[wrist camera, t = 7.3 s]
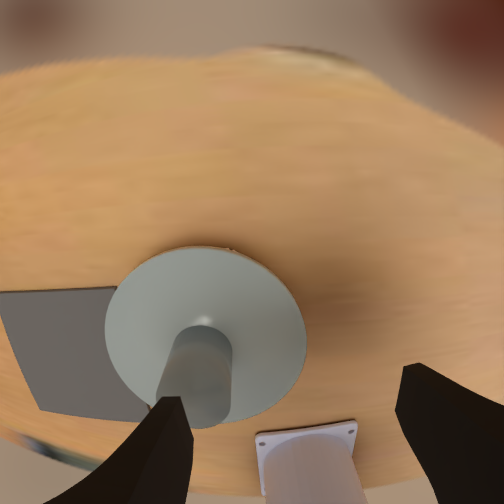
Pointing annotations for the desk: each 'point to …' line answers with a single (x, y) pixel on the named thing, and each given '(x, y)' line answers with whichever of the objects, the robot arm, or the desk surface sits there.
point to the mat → (68, 352)
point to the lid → (206, 334)
